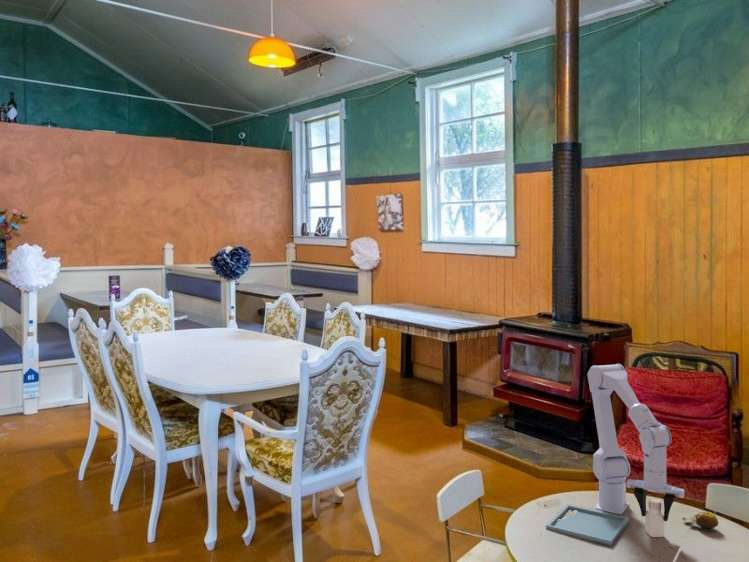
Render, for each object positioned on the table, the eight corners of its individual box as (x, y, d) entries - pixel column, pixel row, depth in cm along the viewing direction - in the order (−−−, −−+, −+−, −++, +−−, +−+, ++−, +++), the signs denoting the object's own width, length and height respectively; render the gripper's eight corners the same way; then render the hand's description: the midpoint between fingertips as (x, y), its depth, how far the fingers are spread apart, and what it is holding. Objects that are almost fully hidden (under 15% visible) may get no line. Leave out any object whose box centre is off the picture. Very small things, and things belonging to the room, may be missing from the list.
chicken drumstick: (698, 515, 188) (699, 503, 188) (725, 526, 181) (726, 514, 181) (680, 520, 185) (680, 508, 184) (706, 532, 177) (707, 519, 177)
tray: (567, 509, 195) (567, 504, 195) (628, 523, 185) (628, 517, 185) (546, 530, 181) (546, 525, 180) (611, 546, 170) (611, 541, 170)
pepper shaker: (644, 531, 179) (644, 498, 178) (658, 531, 179) (658, 498, 178) (650, 538, 175) (651, 504, 174) (665, 537, 175) (665, 503, 174)
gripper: (624, 468, 177) (623, 516, 178) (680, 478, 168) (680, 528, 169) (630, 461, 183) (630, 508, 183) (685, 471, 174) (685, 519, 175)
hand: (654, 517), depth 177 cm, fingers closed on pepper shaker, 5 cm apart
